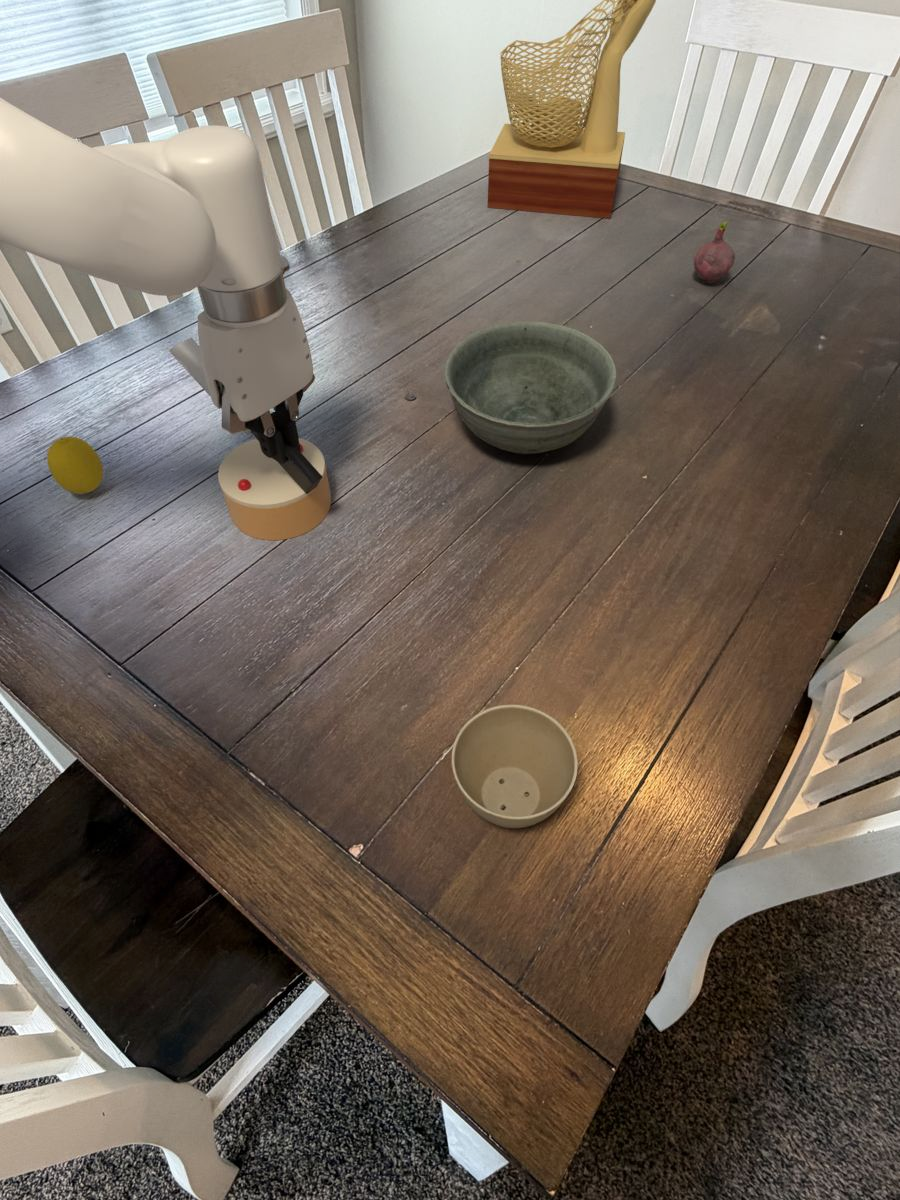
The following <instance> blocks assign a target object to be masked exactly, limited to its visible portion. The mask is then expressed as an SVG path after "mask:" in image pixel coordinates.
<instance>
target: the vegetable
mask: <svg viewBox="0 0 900 1200" xmlns="http://www.w3.org/2000/svg"><path fill="white" fill-rule="evenodd" d="M728 224H729V223H728V221H724V222H723V223H721V224H720V225H719V227H718V229H717V231H716V234H715V236H714V239H713V240H711V241H709V242H708V243H704V244H703V245H702V246H701V247H700V248H698V250H697V252H695V253H696V254H695V256H694V259H693V266H694V270H695V272H696V273H697V275H698V276H699V277H700V278H701V279H702V280H704V282H705V283H706V284H712V283H715V282H717V281H718V280H719V279H721V278H723V277H724V276H725V275H726V274H727V273H728V272H729V271H730V270H731V269H732V268H733V266H734V263H735V262H736V261H735V260H736V255H735V251H734V249H733V247H732V246H731V245H730V244H729V243H728V242H726V241H724V233H725V232H726V227H727V226H728Z"/></svg>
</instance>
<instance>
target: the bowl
mask: <svg viewBox="0 0 900 1200" xmlns="http://www.w3.org/2000/svg"><path fill="white" fill-rule="evenodd" d="M443 378H444V381H445V385H446V387H447V389H448V392H449V394H450V398H451V400H452V402H453V405H454V407H455V409H456V412H457V413H458V416H459V417H460V418H461V420H462V422H463V423H464V425H465V426H466V427H467V428H468V429H469V430H470V432H472V433H473V435H475V436H476V437H477V438H479V439H481V440H482V441H484V442H485V443H486V444H488V445H490V446H493V447H495V448H497V449H500V450H502V451H506V452H510V453H513V454H516V455H535V454H542V453H544V452H545V453H547V452H551V451H555V450H557V449H561V448H563V447H566V446H568V445H570V444H571V443H572V442H574V441H576V440H577V439H578V438H580V437H581V436H582V435H583V434H585V432H587V430H588V429H589V428H590V427H591V426H592V424H593V423H594V422H595V421H596V420H597V419H598V416H599V415H600V413H601V411H602V410H603V408H604V406H605V404H606V402H608V400H609V399H610V397H611V396H612V394H613V392H614V391H615V387H616V382H617V371H616V364H615V362H614V359H613V357H612V355H611V354H610V353H609V352H608V350H607V349H605V347H604V346H603V345H602V344H600V343H599V342H598V341H596V340H595V339H594V338H592V337H591V336H589V335H587V334H586V333H583V332H581V331H579V330H577V329H575V328H574V329H573V328H571V327H568V326H565V325H561V324H556V323H550V322H546V321H532V320H531V321H513V322H505V323H501V324H495V325H492V326H488V327H485V328H482V329H480V330H477V331H475V332H473V333H471V334H469V335H468V336H466V337H465V338H464V339H462V340H461V341H459V342H458V343H457V344H456V345H455V347H454V348H453V349H452V350H451V352H450V353H449V354H448V355H447V358H446V361H445V363H444V365H443Z"/></svg>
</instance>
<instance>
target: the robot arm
mask: <svg viewBox="0 0 900 1200" xmlns="http://www.w3.org/2000/svg"><path fill="white" fill-rule="evenodd" d="M273 222H274V221H273V216H272V212H271V207H270V202H269V195H268V191H267V186H266V181H265V176H264V171H263V166H262V161H261V156H260V153H259V150H258V147H257V146H256V144H255V142H254V140H253V139H252V137H250V135H248V134H247V133H246V132H245V131H243V130H241V129H239V128H236V127H232V126H227V125H220V124H219V125H213V124H212V125H211V124H210V125H201V126H200V125H199V126H195V127H190V128H187V129H184V130H182V131H179V132H176V133H175V134H173V135H172V136H170V137H168V138H166V139H161V140H160V139H159V140H152V141H142V142H131V143H117V144H106V145H99V146H93V147H91V146H88V145H87V144H85V143H83V142H81V141H79V140H77V139H75V138H74V137H71V136H70V135H68V134H65V133H63V132H61V131H59V130H58V129H56V128H53V127H52V126H50V125H48V124H46V123H45V122H43V121H41V120H39V119H37V117H34V116H33V115H31V114H29V113H27V112H25V111H23V110H22V109H20V108H19V107H17V106H15V105H13V104H12V103H10V102H8V101H7V100H5V99H4V98H2V97H0V242H4V243H6V244H7V245H9V246H13V247H15V248H17V249H20V250H22V251H24V252H26V253H29V254H32V255H34V256H36V257H39V258H41V259H44V260H47V261H49V262H52V263H54V264H57V265H58V266H61V267H64V268H66V269H67V268H68V269H70V270H73V271H76V272H78V273H80V274H84V275H88V276H89V277H93V278H96V279H100V280H103V281H105V282H109V283H112V284H116V285H119V286H121V287H124V288H128V289H131V290H135V291H138V292H141V293H144V294H148V295H153V296H163V297H164V296H165V297H171V296H178V295H182V294H186V293H189V292H191V291H192V290H194V289H196V288H197V291H198V295H199V298H200V302H201V305H202V308H203V311H201V312H200V313H199V314H198V315H197V334H198V335H197V336H198V345H199V346H200V353H201V358H202V363H203V368H204V373H205V377H206V381H207V385H208V389H209V393H210V396H211V397H210V396H209V397H210V399H211V401H212V403H213V405H214V407H216V408H218V409H219V410H220V409H221V408H222V409H221V429H222V430H224V431H226V432H228V433H229V434H231V435H235V434H238V433H243V431H245V430H248V429H249V430H251V431H255V432H257V436H258V439H259V443H260V447H261V450H262V452H263V454H264V455H265V456H267V457H269V458H273V459H274V460H276V461H278V462H279V463H281V464H284V463H285V462H287V459H286V455H285V453H286V451H285V447H284V442H283V438H282V434H283V436H284V437H285V438H286V439H287V440H288V441H289V442H290V443H291V444H292V445H293V447H296V448H297V449H298V450H299V451H300V452H301V448H300V444H299V438H300V435H299V431H298V427H297V422H296V421H297V420H298V419H299V416H300V409H299V406H300V405H301V402H302V400H303V397H304V393H305V392H306V391H307V390H308V389H309V388H310V387H311V386H312V385H313V383H314V382H315V379H316V376H315V374H314V363H313V358H312V353H311V348H310V343H309V339H308V335H307V332H306V329H305V326H304V323H303V319H302V317H301V314H300V311H299V308H298V306H297V304H296V301H295V300H294V297H293V294H292V293H291V292H290V290H289V289H288V288H286V282H285V278H284V275H285V273H286V272H288V271H290V268H291V267H290V266H291V265H290V262H289V261H288V259H287V258H286V256H284V255H280V252H279V247H278V243H277V236H276V231H275V228H274V223H273ZM272 409H273V412H272V411H271V410H272ZM275 427H276V428H277V429H278V430H279V431H280V432H279V431H278V430H276V429H275ZM281 433H282V434H281Z"/></svg>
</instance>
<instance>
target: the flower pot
mask: <svg viewBox="0 0 900 1200" xmlns="http://www.w3.org/2000/svg"><path fill="white" fill-rule="evenodd" d="M578 767H579V761H578V753H577V749H576V746H575V743H574V742H573V739H572V738H571V736H570V734H569V733H568V731H567V730H566V729H565V727H564V726H563V725H562V724H561V723H560V722H559V721H557V720H556V718H554V717H552V716H551V715H550V714H548V713H546V712H544V711H542V710H540V709H537V708H535V707H531V706H527V705H522V704H501V705H496V706H492V707H488V708H486V709H484V710H482V711H480V712H479V713H477V714H475V715H474V716H472V717H471V718H469V719H468V721H466V722H465V724H464V725H463V726H462V727H461V729H460V730H459V732H458V733H457V734H456V737H455V739H454V742H453V745H452V750H451V770H452V774H453V776H454V781H455V782H456V785H457V787H458V789H459V792H460V794H461V796H462V797H463V799H464V800H465V801H466V803H467V804H468V806H469V807H470V808H471V809H473V811H474V812H475V813H476V814H478V816H480V818H482V819H484V820H485V821H487V822H489V823H490V824H492V825H496V826H499V827H500V828H501V827H502V828H506V829H522V828H528V827H531V826H534V825H536V824H538V823H540V822H542V821H544V820H545V819H547V818H549V817H550V816H551V815H552V814H553V813H556V811H557V810H558V809H559V808H560V807H561V806H562V804H563V803H565V801H566V799H567V798H568V796H569V795H570V793H571V791H572V790H573V787H574V785H575V784H576V780H577V775H578V769H579V768H578Z"/></svg>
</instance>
